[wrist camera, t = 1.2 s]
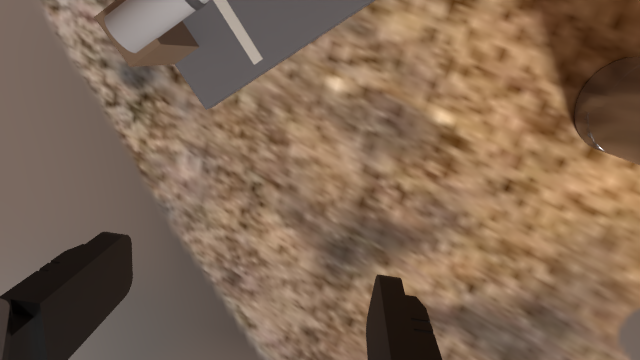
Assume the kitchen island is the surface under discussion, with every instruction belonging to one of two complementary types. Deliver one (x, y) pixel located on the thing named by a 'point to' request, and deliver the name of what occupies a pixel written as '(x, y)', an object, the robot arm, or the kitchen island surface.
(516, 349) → the kitchen island surface
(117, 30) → the pipe stand
